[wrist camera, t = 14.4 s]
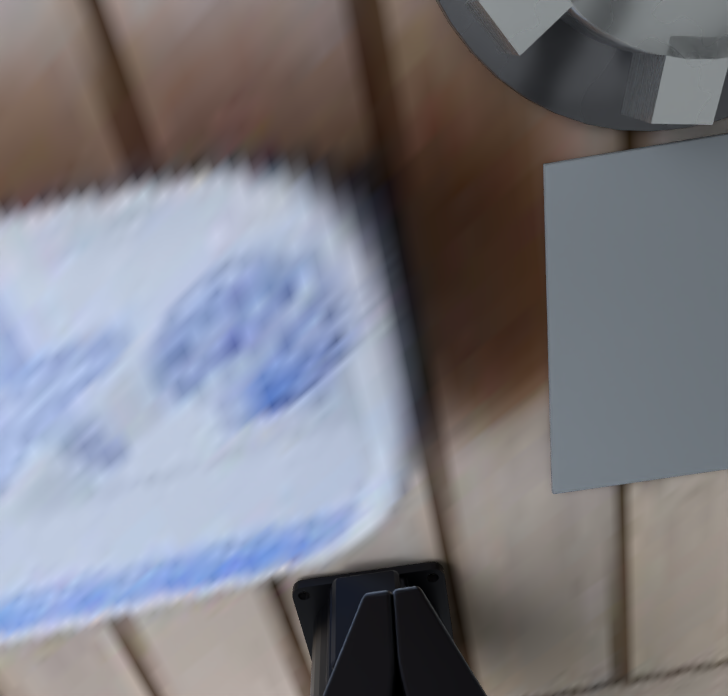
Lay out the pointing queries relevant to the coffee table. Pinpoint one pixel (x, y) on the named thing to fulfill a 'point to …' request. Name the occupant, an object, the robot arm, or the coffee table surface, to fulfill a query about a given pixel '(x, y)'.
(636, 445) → the slate mat
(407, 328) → the coffee table surface
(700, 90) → the sprocket
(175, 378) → the coffee table surface
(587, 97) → the sprocket base
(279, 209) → the coffee table surface
